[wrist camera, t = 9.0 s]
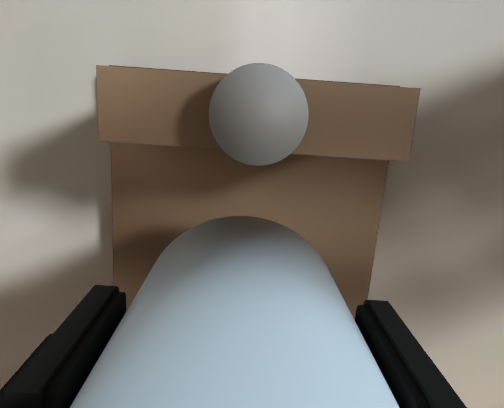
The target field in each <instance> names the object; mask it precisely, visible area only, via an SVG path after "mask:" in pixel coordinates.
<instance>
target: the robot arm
mask: <svg viewBox="0 0 504 408" xmlns="http://www.w3.org/2000/svg"><path fill="white" fill-rule="evenodd" d="M125 313H126V293H125V292H120V291H119V288H118V286H104V285H95V286H94V287H93V288H92V289H91V290H90V291H89V293H88V294H87V295H86V296H85V297H84V299H83V300H82V301H81V302H80V303H79V304H78V306H77V307H76V308H75V309H74V310H73V311H72V313H71V314H70V315H69V316H68V317H67V318H66V320H65V321H64V322H63V323H62V324H61V325H60V327H59V328H58V329H57V330H56V331H55V332H54V334H50V335H49V336H48V337H46V338H45V339H44V341H43V342H42V343H41V344H40V345H39V346H38V347H37V349H36V350H35V351H34V352H33V353H32V354H31V356H30V357H29V358H28V359H27V360H26V361H25V362H24V364H23V365H22V366H21V367H20V368H19V369H18V370H17V372H16V373H15V374H14V375H13V376H12V377H11V378H10V380H9V381H8V382H7V383H6V384H5V385H4V387H3V388H2V389H1V390H0V408H70V406H71V405H72V403H73V401H74V400H75V398H76V396H77V395H78V393H79V391H80V390H81V388H82V386H83V384H84V383H85V381H86V379H87V378H88V376H89V374H90V373H91V371H92V369H93V367H94V366H95V364H96V362H97V361H98V359H99V357H100V356H101V354H102V352H103V350H104V349H105V347H106V345H107V344H108V342H109V340H110V339H111V337H112V335H113V333H114V332H115V330H116V328H117V327H118V325H119V323H120V322H121V320H122V318H123V317H124V315H125ZM355 322H356V324H357V326H358V328H359V330H360V332H361V334H362V336H363V338H364V340H365V342H366V344H367V346H368V347H369V349H370V351H371V353H372V355H373V357H374V359H375V361H376V363H377V365H378V367H379V369H380V371H381V373H382V375H383V377H384V379H385V381H386V382H387V384H388V386H389V388H390V390H391V392H392V394H393V396H394V398H395V400H396V402H397V404H398V406H399V408H467V407H466V406H465V405H464V403H463V402H462V401H461V399H460V398H459V397H458V395H457V394H456V393H455V391H454V390H453V388H452V387H451V386H450V384H449V383H448V382H447V380H446V379H445V378H444V376H443V375H442V374H441V372H440V371H439V369H438V368H437V367H436V365H435V364H434V363H433V361H432V360H431V359H430V357H429V356H428V355H427V354H426V352H425V351H424V350H423V348H422V347H421V345H420V344H419V343H418V341H417V340H416V339H415V337H414V336H413V335H412V333H411V332H410V330H409V329H408V328H407V326H406V325H405V324H404V322H403V321H402V320H401V318H400V317H399V316H398V314H397V313H396V311H395V310H394V309H393V307H392V306H391V305H390V303H389V302H388V301H378V300H365V301H364V304H363V305H358V306H357V308H356V314H355Z"/></svg>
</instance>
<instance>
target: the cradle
mask: <svg viewBox="0 0 504 408" xmlns="http://www.w3.org/2000/svg"><path fill="white" fill-rule="evenodd" d="M96 74H97V108H98V141H106V142H111V176H112V223H113V270H114V286H118V288H119V291H120V292H125V293H126V311H127V310H128V308H129V306H130V305H131V303H132V301H133V300H134V298H135V296H136V294H137V293H138V291H139V289H140V288H141V286H142V284H143V283H144V281H145V279H146V277H147V276H148V274H149V272H150V271H151V269H152V267H153V266H154V264H155V262H156V260H157V259H158V257H159V256H160V255H161V253H162V252H163V251H164V249H165V248H166V247H167V246H168V245H169V244H170V243H171V242H172V241H173V240H174V239H176V238H177V237H178V236H180V235H181V234H182V233H184V232H185V231H187V230H189V229H191V228H192V227H194V226H196V225H199V224H201V223H204V222H206V221H209V220H213V219H217V218H221V217H229V216H251V217H259V218H263V219H267V220H271V221H274V222H276V223H279V224H281V225H284V226H286V227H288V228H289V229H291V230H293V231H295V232H296V233H298V234H299V235H300V236H302V237H303V238H304V239H306V240H307V241H308V242H309V243H310V244H311V245H312V246H313V247H314V248H315V250H316V251H317V252H318V253H319V255H320V256H321V257H322V259H323V261H324V263H325V264H326V266H327V268H328V270H329V272H330V274H331V276H332V278H333V279H334V281H335V283H336V285H337V287H338V289H339V291H340V293H341V295H342V297H343V299H344V301H345V303H346V305H347V307H348V309H349V311H350V313H351V314H352V316H353V318H354V320H355V314H356V308H357V306H358V305H363V304H364V301H365V300H367V298H368V292H369V285H370V279H371V272H372V266H373V259H374V253H375V246H376V240H377V234H378V227H379V221H380V214H381V208H382V201H383V195H384V188H385V182H386V175H387V169H388V162H389V160H392V161H407V162H408V161H409V155H410V149H411V143H412V137H413V131H414V125H415V119H416V113H417V107H418V101H419V95H420V88H406V87H400V86H390V85H376V84H362V83H348V82H334V81H321V80H307V79H294V78H293V77H292V76H291V75H290V74H289V73H288V72H286V71H285V70H283V69H281V68H279V67H277V66H274V65H270V64H264V63H253V64H248V65H244V66H241V67H239V68H237V69H235V70H233V71H232V72H230V73H229V74H223V73H209V72H195V71H181V70H167V69H153V68H140V67H126V66H112V65H109V66H100V65H96Z"/></svg>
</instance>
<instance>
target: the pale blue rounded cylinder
mask: <svg viewBox="0 0 504 408" xmlns="http://www.w3.org/2000/svg"><path fill="white" fill-rule="evenodd" d="M70 408H399V406H398V404H397V402H396V400H395V398H394V396H393V394H392V392H391V390H390V388H389V386H388V384H387V382H386V381H385V379H384V377H383V375H382V373H381V371H380V369H379V367H378V365H377V363H376V361H375V359H374V357H373V355H372V353H371V351H370V349H369V347H368V346H367V344H366V342H365V340H364V338H363V336H362V334H361V332H360V330H359V328H358V326H357V324H356V322H355V320H354V318H353V316H352V314H351V313H350V311H349V309H348V307H347V305H346V303H345V301H344V299H343V297H342V295H341V293H340V291H339V289H338V287H337V285H336V283H335V281H334V279H333V278H332V276H331V274H330V272H329V270H328V268H327V266H326V264H325V263H324V261H323V259H322V257H321V256H320V255H319V253H318V252H317V251H316V250H315V248H314V247H313V246H312V245H311V244H310V243H309V242H308V241H307V240H306V239H304V238H303V237H302V236H300V235H299V234H298V233H296V232H295V231H293V230H291V229H289V228H288V227H286V226H284V225H281V224H279V223H276V222H274V221H271V220H267V219H263V218H259V217H251V216H229V217H221V218H217V219H213V220H209V221H206V222H204V223H201V224H199V225H196V226H194V227H192V228H191V229H189V230H187V231H185V232H184V233H182V234H181V235H180V236H178V237H177V238H176V239H174V240H173V241H172V242H171V243H170V244H169V245H168V246H167V247H166V248H165V249H164V251H163V252H162V253H161V255H160V256H159V257H158V259H157V260H156V262H155V264H154V266H153V267H152V269H151V271H150V272H149V274H148V276H147V277H146V279H145V281H144V283H143V284H142V286H141V288H140V289H139V291H138V293H137V294H136V296H135V298H134V300H133V301H132V303H131V305H130V306H129V308H128V310H127V311H126V313H125V315H124V317H123V318H122V320H121V322H120V323H119V325H118V327H117V328H116V330H115V332H114V333H113V335H112V337H111V339H110V340H109V342H108V344H107V345H106V347H105V349H104V350H103V352H102V354H101V356H100V357H99V359H98V361H97V362H96V364H95V366H94V367H93V369H92V371H91V373H90V374H89V376H88V378H87V379H86V381H85V383H84V384H83V386H82V388H81V390H80V391H79V393H78V395H77V396H76V398H75V400H74V401H73V403H72V405H71V406H70Z"/></svg>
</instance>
